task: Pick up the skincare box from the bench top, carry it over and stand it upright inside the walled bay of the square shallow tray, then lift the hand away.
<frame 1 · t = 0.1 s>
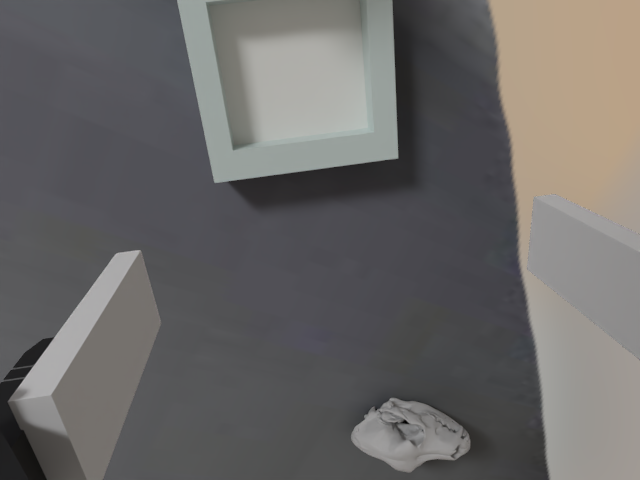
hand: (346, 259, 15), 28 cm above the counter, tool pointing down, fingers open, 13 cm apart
square shallow tray: (293, 70, 39), on the counter
skull: (399, 414, 56), on the counter
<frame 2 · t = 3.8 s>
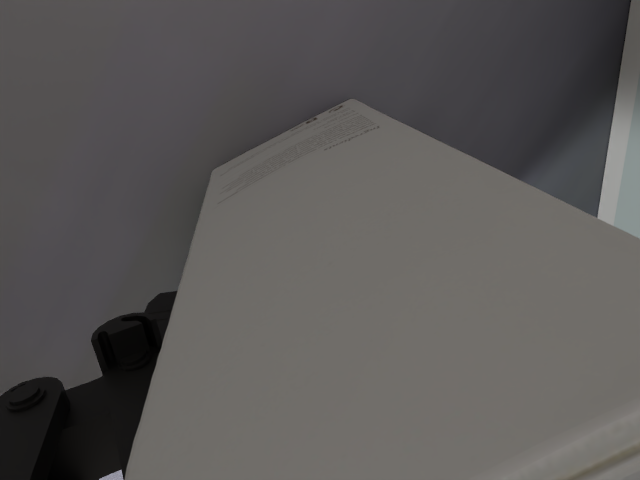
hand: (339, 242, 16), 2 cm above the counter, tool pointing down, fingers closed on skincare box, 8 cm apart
skincare box: (331, 217, 19), on the counter, touching gripper
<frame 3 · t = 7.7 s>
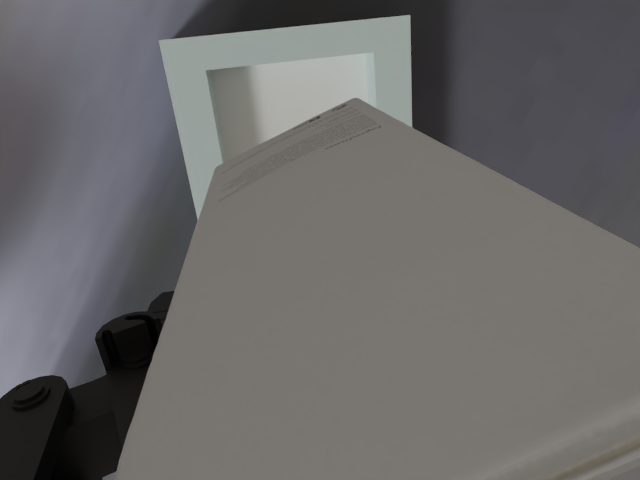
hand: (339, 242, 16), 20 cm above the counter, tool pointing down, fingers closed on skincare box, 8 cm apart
square shallow tray: (297, 143, 35), on the counter
skincare box: (333, 216, 19), point 17 cm above the counter, touching gripper
when the fingers open (5 cm above the counter, at t = 10.7 s): skincare box drops 1 cm, resting on square shallow tray.
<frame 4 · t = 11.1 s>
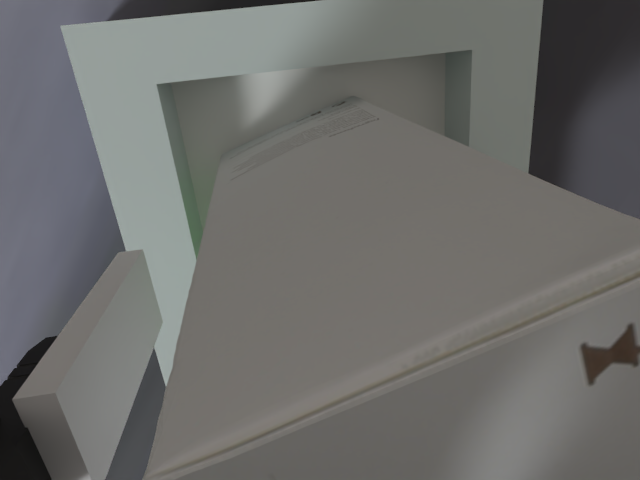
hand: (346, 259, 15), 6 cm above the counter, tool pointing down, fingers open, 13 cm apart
square shallow tray: (322, 201, 21), on the counter
skincare box: (328, 206, 20), point 1 cm above the counter, touching square shallow tray
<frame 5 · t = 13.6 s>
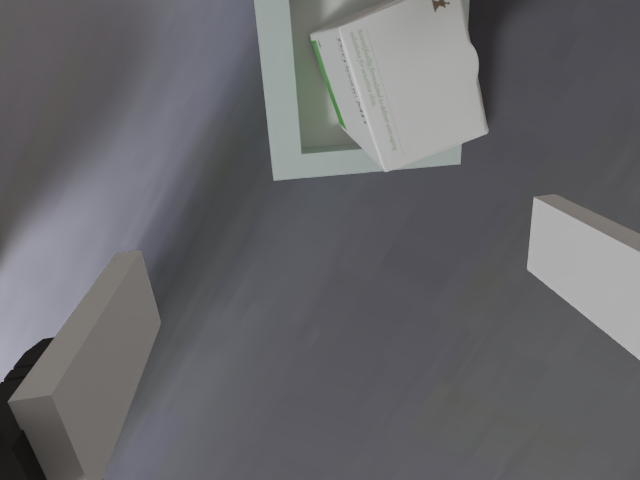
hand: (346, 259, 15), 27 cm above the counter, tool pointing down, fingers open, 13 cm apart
square shallow tray: (358, 70, 38), on the counter
skincare box: (361, 70, 37), point 1 cm above the counter, touching square shallow tray
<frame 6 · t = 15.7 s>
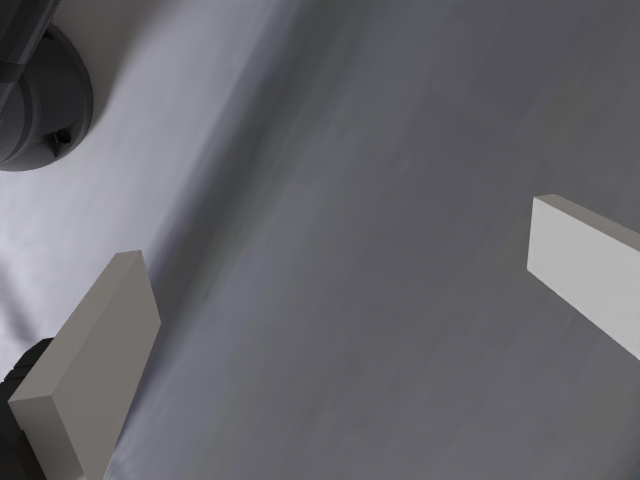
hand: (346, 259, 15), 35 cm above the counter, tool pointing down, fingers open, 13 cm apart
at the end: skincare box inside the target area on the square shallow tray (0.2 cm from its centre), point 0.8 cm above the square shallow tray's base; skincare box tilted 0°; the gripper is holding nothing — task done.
